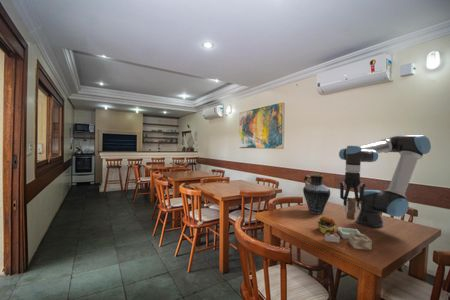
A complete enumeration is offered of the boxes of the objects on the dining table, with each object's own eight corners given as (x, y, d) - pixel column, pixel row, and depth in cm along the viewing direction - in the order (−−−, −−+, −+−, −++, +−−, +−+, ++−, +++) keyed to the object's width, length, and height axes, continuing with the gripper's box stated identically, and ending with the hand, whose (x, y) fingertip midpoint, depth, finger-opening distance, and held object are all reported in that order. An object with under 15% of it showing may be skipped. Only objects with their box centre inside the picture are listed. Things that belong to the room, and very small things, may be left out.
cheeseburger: (313, 230, 134) (315, 214, 135) (320, 230, 141) (322, 215, 143) (331, 235, 127) (332, 218, 128) (337, 235, 134) (338, 218, 136)
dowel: (352, 218, 130) (353, 198, 129) (355, 220, 126) (356, 199, 125) (345, 217, 131) (346, 197, 130) (347, 219, 127) (348, 199, 126)
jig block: (365, 243, 119) (365, 234, 118) (371, 250, 111) (371, 241, 111) (349, 241, 120) (349, 232, 120) (353, 248, 113) (354, 239, 112)
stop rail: (338, 241, 121) (338, 233, 121) (339, 242, 119) (339, 235, 119) (325, 239, 122) (325, 232, 122) (325, 240, 120) (326, 233, 120)
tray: (356, 233, 132) (356, 229, 132) (363, 240, 122) (363, 236, 122) (337, 231, 135) (337, 227, 135) (342, 238, 125) (342, 233, 124)
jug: (333, 213, 170) (335, 175, 170) (323, 218, 157) (324, 177, 156) (308, 207, 186) (309, 172, 185) (296, 211, 172) (297, 173, 171)
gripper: (366, 172, 129) (364, 211, 130) (335, 170, 133) (333, 208, 134) (371, 173, 122) (369, 215, 122) (338, 171, 126) (336, 212, 126)
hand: (350, 211), depth 128 cm, fingers closed on dowel, 4 cm apart
